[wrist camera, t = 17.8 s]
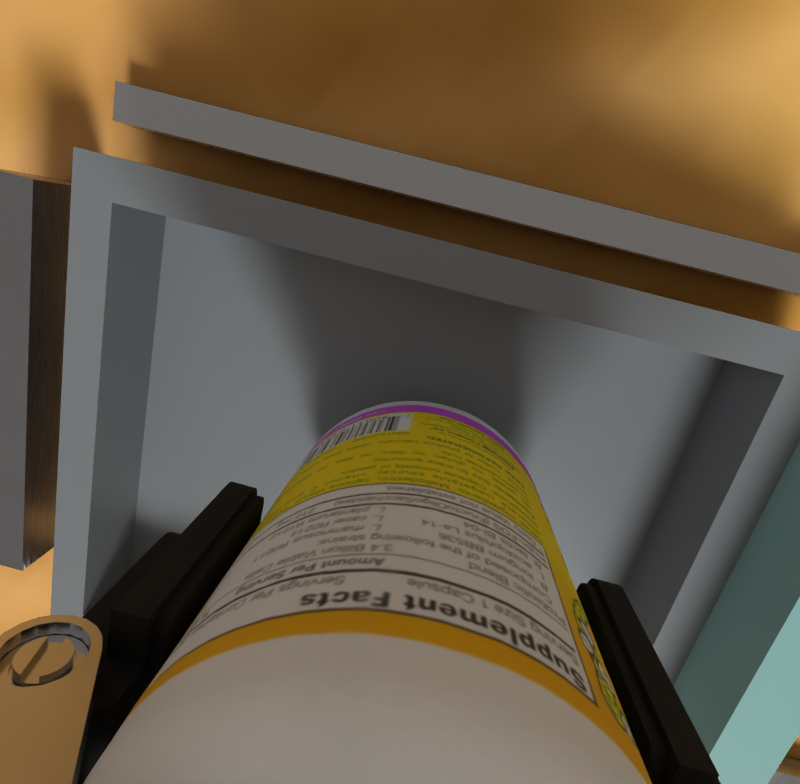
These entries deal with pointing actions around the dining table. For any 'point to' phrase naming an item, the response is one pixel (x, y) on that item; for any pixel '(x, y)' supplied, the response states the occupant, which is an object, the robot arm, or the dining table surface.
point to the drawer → (443, 384)
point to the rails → (302, 149)
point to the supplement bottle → (388, 631)
